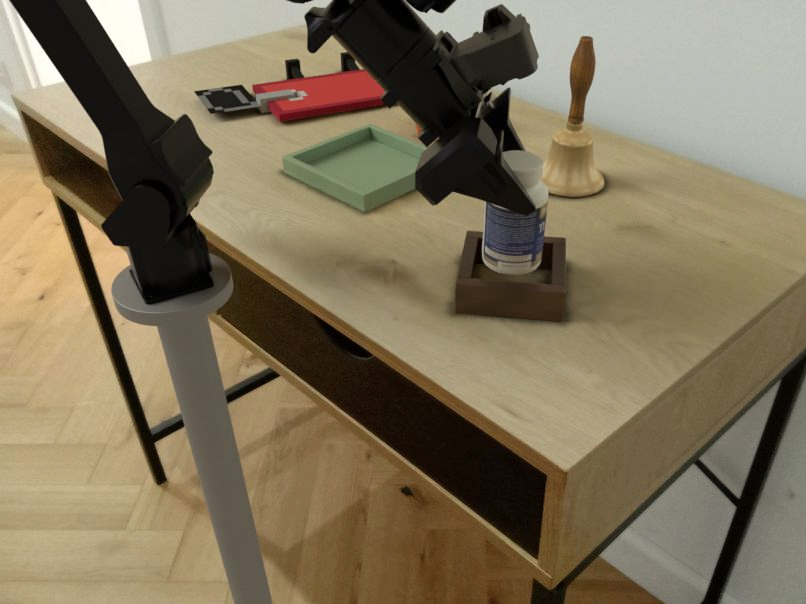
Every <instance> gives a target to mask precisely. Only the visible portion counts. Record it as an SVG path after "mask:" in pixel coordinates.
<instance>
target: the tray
mask: <svg viewBox="0 0 806 604" xmlns="http://www.w3.org/2000/svg"><path fill="white" fill-rule="evenodd" d="M428 147H429V146H428ZM428 147H426V146H425V145H424V144H423V143H419V142H417V141H415V140H412V139H410V138H408V137H405V136H403V135H400V134H398V133H395V132H393V131H390V130H387V129H385V128H382V127H380V126H377V125H375V124H373V123H367V124H365V125H361V126H360V127H357V128H354V129H351V130H348V131H346V132H344V133H341V134H339V135H336V136H333V137H329V138H328V139H325V140H322V141H320V142H317V143H314V144H312V145H309V146H307V147H304V148H301V149H299V150H296V151H294V152H291V153H288V154H286V155H282V157H281V160H282V168H283V174H285V175H287V176H289V177H291V178H294V179H296V180H297V181H300V182H301V183H304V184H306V185H307V186H309V187H312V188H314V189H316V190H318V191H320V192H322V193H324V194H326V195H329V196H330V197H331V198H334V199H336V200H339V201H341V202H343V203H344V204H346V205H349V206H351V207H352V208H355V209H357V210H359V211H361V212H363V213H366V212H369V211H371V210H374V209H375V208H377V207H380V206H382V205H384V204H386V203H388V202H390V201H393V200H394V199H397V198H399V197H400V196H404V195H405V194H407V193H409V192H412V191H413V190H416V189H415V171H416V168H417V165H418V163H419V160H420V157H421V154H422V153H423V152H424V151H425V150H426V149H427V148H428Z"/></svg>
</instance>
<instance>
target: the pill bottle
mask: <svg viewBox="0 0 806 604" xmlns="http://www.w3.org/2000/svg"><path fill="white" fill-rule="evenodd" d="M503 157H504V159H505V160H506V162H507V163H508V165H509V166H510V168H511V169H512V171H513V172H514V174H515V175H516V176H517V178H518V179H519V181H520V182H521V184H522V185H523V187H524V188H525V190H526V191H527V192H528V194H529V196H530V197H531V199H532V200H533V202H534V204H535V205H536V209H535V211H533V212H532V213H531V214H529V215H527V216H525V215H522V214H519V213H517V212H514V211H511V210H508V209H505V208H503V207H500V206H497V205H494V204H491V203H489V202H486V201H484V205H483V206H484V207H483V229H482V232H483V243H482V258H483V262H484V263H485V265H484V266H486V267H487V268H488V269H490V270H492V271H493V272H495V273H498V274H503V275H508V276H520V275H525V274H529V273H532V272H534V271H536V270H537V269H536V268H537V267H538V266H539V265H540V263H541V258H542V250H543V241H544V236H545V232H546V225H547V223H546V222H547V215H548V205H549V193H548V189H547V186H546V185H545V184H544V182H543V181H541V179H542V175H543V162H544V160H543V158H542V157H541V156H539V155H538V154H536V153H533V152H531V151H527V150H526V151H519V150H513V151H506V152H503Z"/></svg>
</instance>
